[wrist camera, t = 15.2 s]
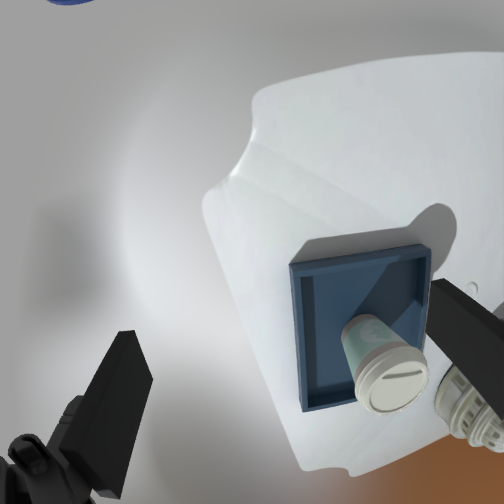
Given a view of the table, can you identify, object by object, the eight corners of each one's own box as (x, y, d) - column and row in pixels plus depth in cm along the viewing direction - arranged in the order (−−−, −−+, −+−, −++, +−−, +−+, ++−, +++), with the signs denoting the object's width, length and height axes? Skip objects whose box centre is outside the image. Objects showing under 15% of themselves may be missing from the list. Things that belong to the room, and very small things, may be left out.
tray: (288, 263, 36) (292, 271, 34) (421, 243, 36) (431, 249, 34) (299, 400, 42) (302, 412, 40) (407, 375, 43) (413, 385, 40)
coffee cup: (401, 322, 39) (445, 372, 27) (361, 367, 41) (392, 426, 29) (360, 291, 37) (404, 343, 26) (317, 343, 39) (343, 406, 27)
